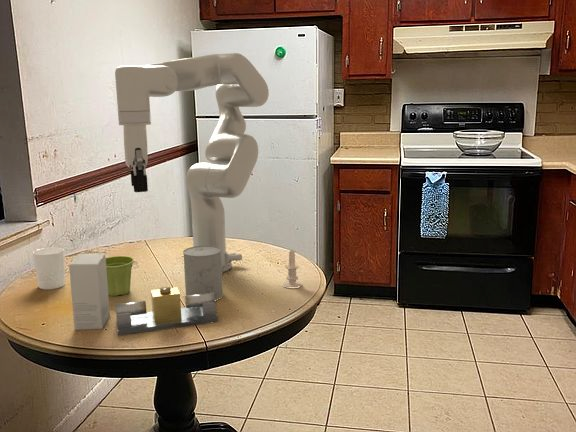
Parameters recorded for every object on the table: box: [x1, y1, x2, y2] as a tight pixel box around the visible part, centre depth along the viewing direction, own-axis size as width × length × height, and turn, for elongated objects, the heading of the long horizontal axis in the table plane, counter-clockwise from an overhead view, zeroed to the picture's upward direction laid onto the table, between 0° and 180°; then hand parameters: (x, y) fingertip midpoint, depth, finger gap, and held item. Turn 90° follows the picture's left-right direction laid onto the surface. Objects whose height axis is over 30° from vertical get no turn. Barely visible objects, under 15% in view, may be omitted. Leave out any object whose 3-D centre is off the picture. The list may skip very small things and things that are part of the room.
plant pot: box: [106, 255, 135, 297], centre depth 148 cm, size 9×9×9 cm
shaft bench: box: [115, 292, 219, 336], centre depth 130 cm, size 22×9×6 cm, turn 108°
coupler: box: [150, 286, 182, 322], centre depth 129 cm, size 6×4×7 cm
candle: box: [282, 249, 303, 287], centre depth 152 cm, size 5×5×10 cm
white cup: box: [32, 246, 66, 290], centre depth 154 cm, size 8×8×10 cm
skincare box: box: [68, 252, 111, 331], centre depth 128 cm, size 8×7×16 cm
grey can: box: [182, 246, 224, 301], centre depth 144 cm, size 10×10×12 cm
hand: (139, 188), depth 140 cm, fingers open, 9 cm apart
